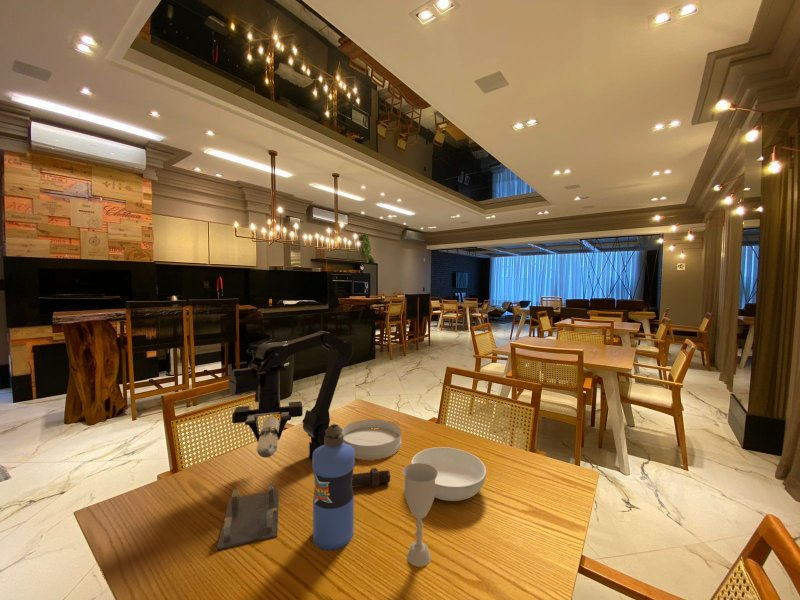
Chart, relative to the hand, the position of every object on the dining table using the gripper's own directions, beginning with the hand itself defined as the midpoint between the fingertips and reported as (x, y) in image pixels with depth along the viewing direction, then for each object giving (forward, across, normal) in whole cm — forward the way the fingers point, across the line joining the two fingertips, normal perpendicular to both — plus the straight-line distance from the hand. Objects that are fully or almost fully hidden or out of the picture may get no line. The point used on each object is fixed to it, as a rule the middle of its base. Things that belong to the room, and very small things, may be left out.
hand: (268, 440), depth 95 cm
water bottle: (+11, -15, +28) cm, 34 cm away
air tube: (+1, 0, 0) cm, 1 cm away
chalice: (+11, -32, +40) cm, 52 cm away
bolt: (+12, -26, +13) cm, 31 cm away
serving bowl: (+11, -48, +20) cm, 54 cm away
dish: (+12, -34, -11) cm, 37 cm away
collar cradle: (+11, +3, +16) cm, 20 cm away
